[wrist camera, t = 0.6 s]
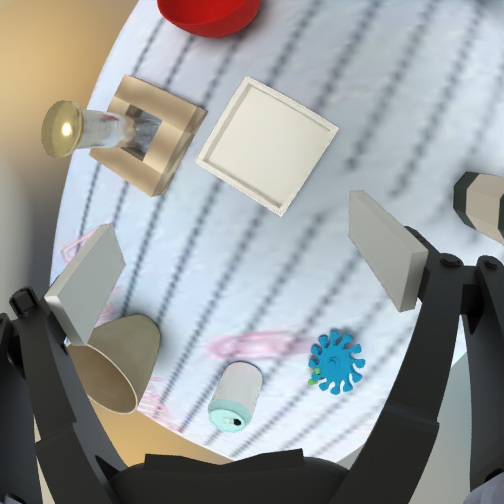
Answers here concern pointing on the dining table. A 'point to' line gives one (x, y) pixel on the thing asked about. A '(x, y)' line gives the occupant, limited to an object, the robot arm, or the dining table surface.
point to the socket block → (164, 142)
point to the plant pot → (117, 362)
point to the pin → (92, 129)
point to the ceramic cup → (209, 15)
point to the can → (235, 397)
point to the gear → (335, 363)
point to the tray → (266, 145)
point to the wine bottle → (481, 203)
